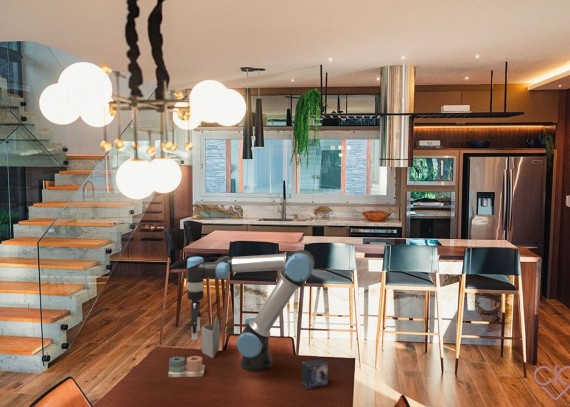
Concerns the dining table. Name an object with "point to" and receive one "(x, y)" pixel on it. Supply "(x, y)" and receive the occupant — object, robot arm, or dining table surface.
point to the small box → (314, 374)
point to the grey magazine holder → (211, 338)
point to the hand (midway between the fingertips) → (195, 335)
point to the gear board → (187, 374)
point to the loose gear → (194, 364)
